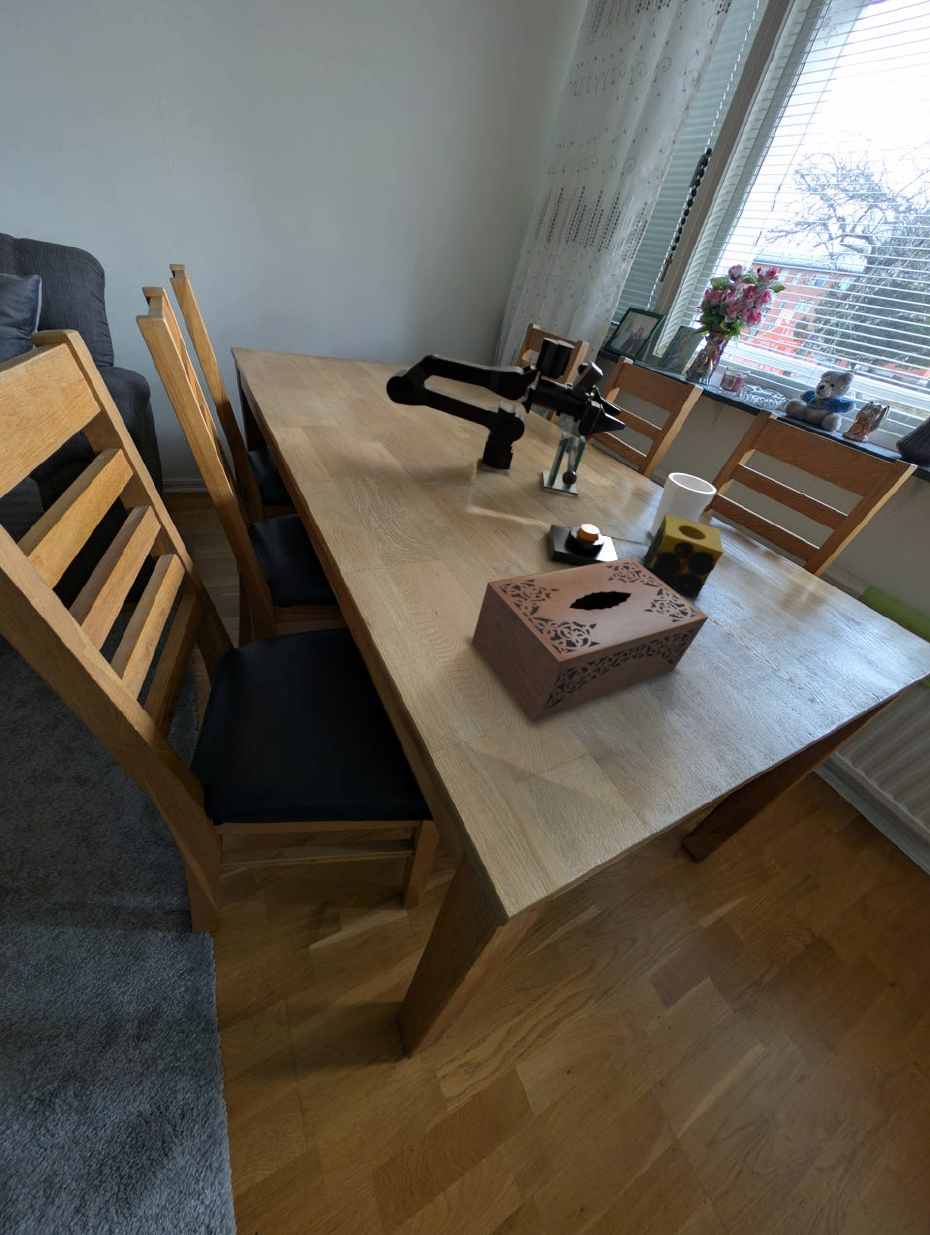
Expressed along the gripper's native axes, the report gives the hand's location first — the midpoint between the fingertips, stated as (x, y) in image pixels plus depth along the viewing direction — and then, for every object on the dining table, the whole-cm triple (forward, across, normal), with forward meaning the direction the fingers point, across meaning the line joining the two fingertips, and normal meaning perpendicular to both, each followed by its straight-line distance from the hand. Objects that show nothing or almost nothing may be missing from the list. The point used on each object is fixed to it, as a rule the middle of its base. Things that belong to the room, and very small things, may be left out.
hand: (622, 420), depth 107 cm
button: (-5, -34, +12) cm, 36 cm away
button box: (-5, -34, +16) cm, 38 cm away
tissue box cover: (-7, -64, +14) cm, 66 cm away
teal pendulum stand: (-8, -3, +18) cm, 20 cm away
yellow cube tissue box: (+12, -35, +14) cm, 40 cm away
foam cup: (+15, -19, +15) cm, 29 cm away
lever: (-8, -7, +11) cm, 15 cm away
